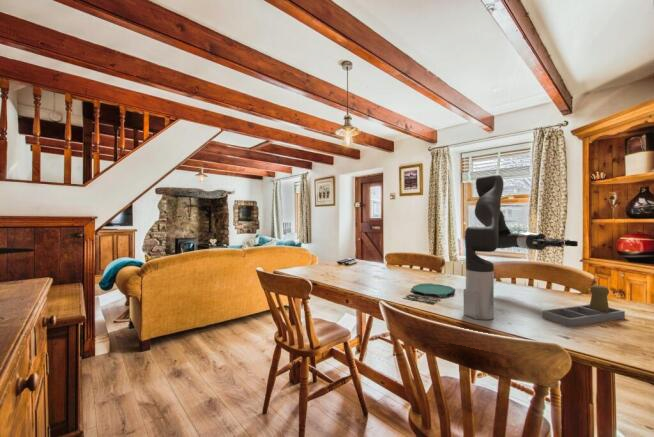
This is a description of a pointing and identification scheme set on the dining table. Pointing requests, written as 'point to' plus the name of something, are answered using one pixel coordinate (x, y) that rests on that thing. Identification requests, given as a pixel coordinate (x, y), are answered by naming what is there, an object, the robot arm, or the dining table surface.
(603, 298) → the cork
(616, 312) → the frame
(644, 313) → the dining table surface
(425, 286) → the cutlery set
